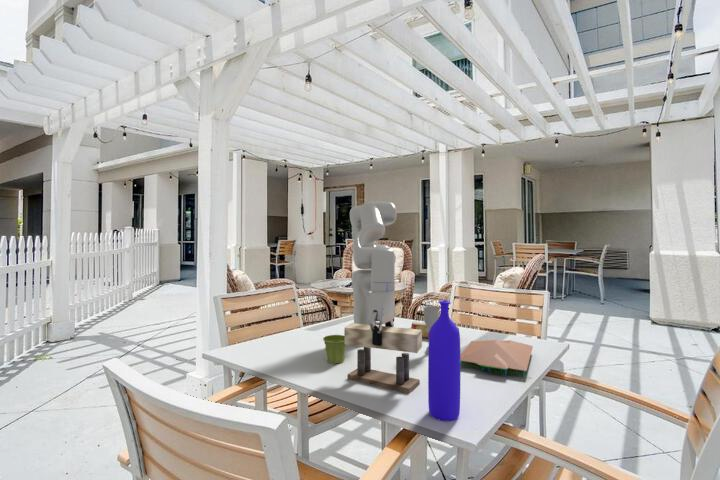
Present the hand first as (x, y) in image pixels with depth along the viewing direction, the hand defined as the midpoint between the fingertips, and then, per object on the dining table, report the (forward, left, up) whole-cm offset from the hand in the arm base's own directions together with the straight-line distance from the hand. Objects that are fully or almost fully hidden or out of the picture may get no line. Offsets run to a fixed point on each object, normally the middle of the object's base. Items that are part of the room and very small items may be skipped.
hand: (382, 341), depth 121 cm
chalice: (+3, +36, -13) cm, 39 cm away
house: (+27, +39, -14) cm, 49 cm away
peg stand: (0, 0, -13) cm, 13 cm away
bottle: (+24, -11, -13) cm, 29 cm away
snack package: (-3, +57, -13) cm, 59 cm away
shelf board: (0, 0, -1) cm, 1 cm away
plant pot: (-24, +8, -13) cm, 29 cm away
